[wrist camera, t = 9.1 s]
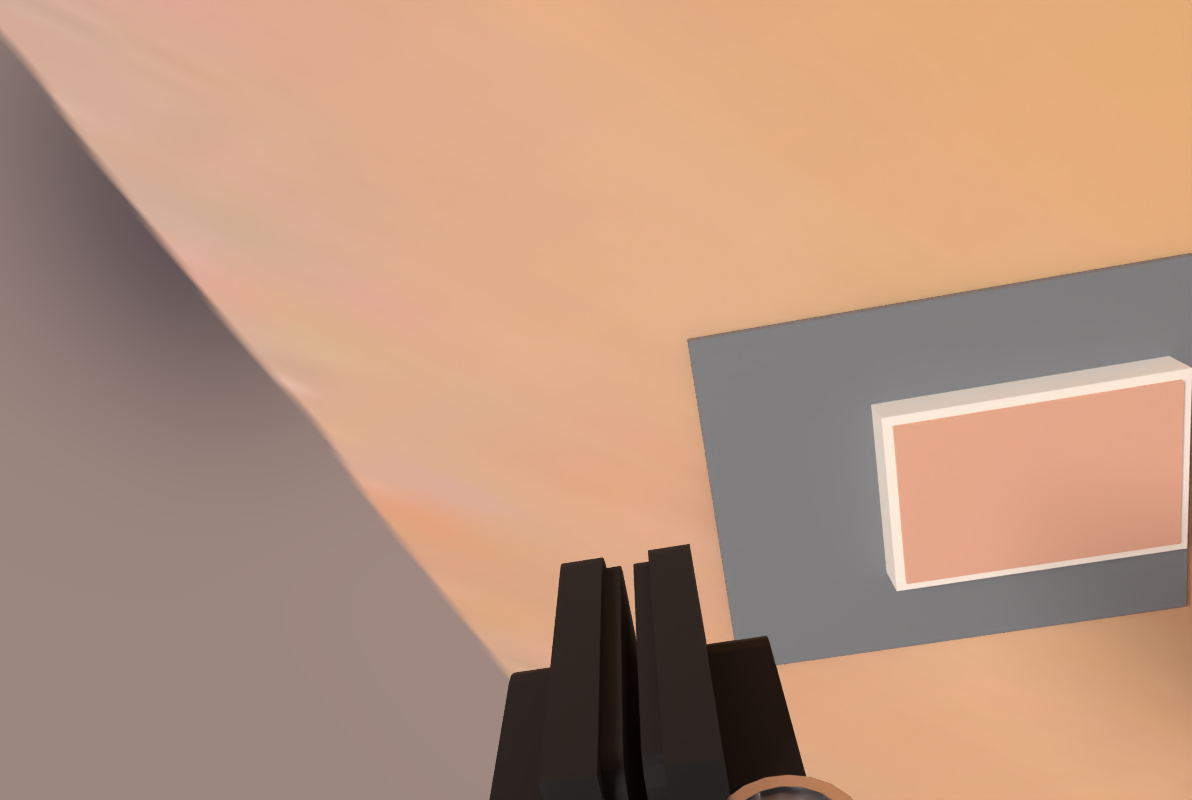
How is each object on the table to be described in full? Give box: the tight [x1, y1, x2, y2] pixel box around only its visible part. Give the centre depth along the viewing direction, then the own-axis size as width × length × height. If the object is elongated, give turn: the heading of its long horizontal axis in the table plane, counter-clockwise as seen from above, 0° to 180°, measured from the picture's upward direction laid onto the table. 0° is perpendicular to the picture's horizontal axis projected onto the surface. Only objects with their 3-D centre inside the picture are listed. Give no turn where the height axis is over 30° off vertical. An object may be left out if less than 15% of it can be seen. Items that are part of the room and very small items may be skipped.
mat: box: [687, 253, 1192, 665], centre depth 40 cm, size 20×16×1 cm
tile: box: [871, 356, 1192, 591], centre depth 39 cm, size 2×8×12 cm
